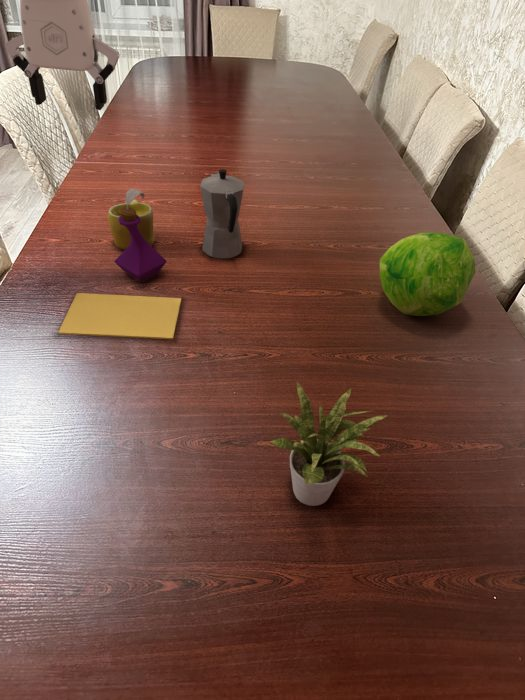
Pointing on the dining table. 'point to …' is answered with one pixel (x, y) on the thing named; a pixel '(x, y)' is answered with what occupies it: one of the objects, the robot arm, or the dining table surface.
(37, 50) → the robot arm
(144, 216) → the mug
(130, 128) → the dining table surface
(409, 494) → the dining table surface
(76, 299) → the yellow rectangular board
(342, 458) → the house plant
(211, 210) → the coffeepot
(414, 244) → the lettuce
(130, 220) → the purple potion bottle
